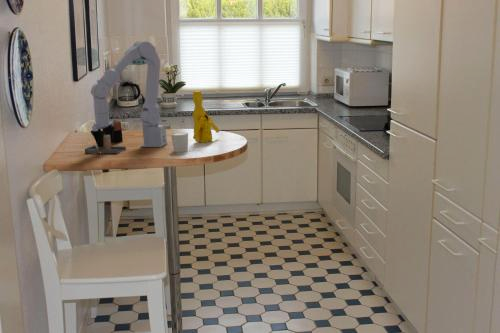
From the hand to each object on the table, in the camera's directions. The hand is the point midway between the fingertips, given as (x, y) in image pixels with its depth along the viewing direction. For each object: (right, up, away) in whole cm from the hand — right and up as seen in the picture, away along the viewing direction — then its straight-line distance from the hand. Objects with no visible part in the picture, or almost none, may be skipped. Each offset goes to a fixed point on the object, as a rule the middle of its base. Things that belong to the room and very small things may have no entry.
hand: (104, 145), depth 263 cm
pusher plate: (-2, -3, +1) cm, 3 cm away
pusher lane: (+1, -3, 0) cm, 3 cm away
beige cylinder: (+32, -2, -4) cm, 32 cm away
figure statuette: (+40, +2, +14) cm, 43 cm away
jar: (0, -3, +1) cm, 3 cm away
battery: (-1, +2, +23) cm, 23 cm away
